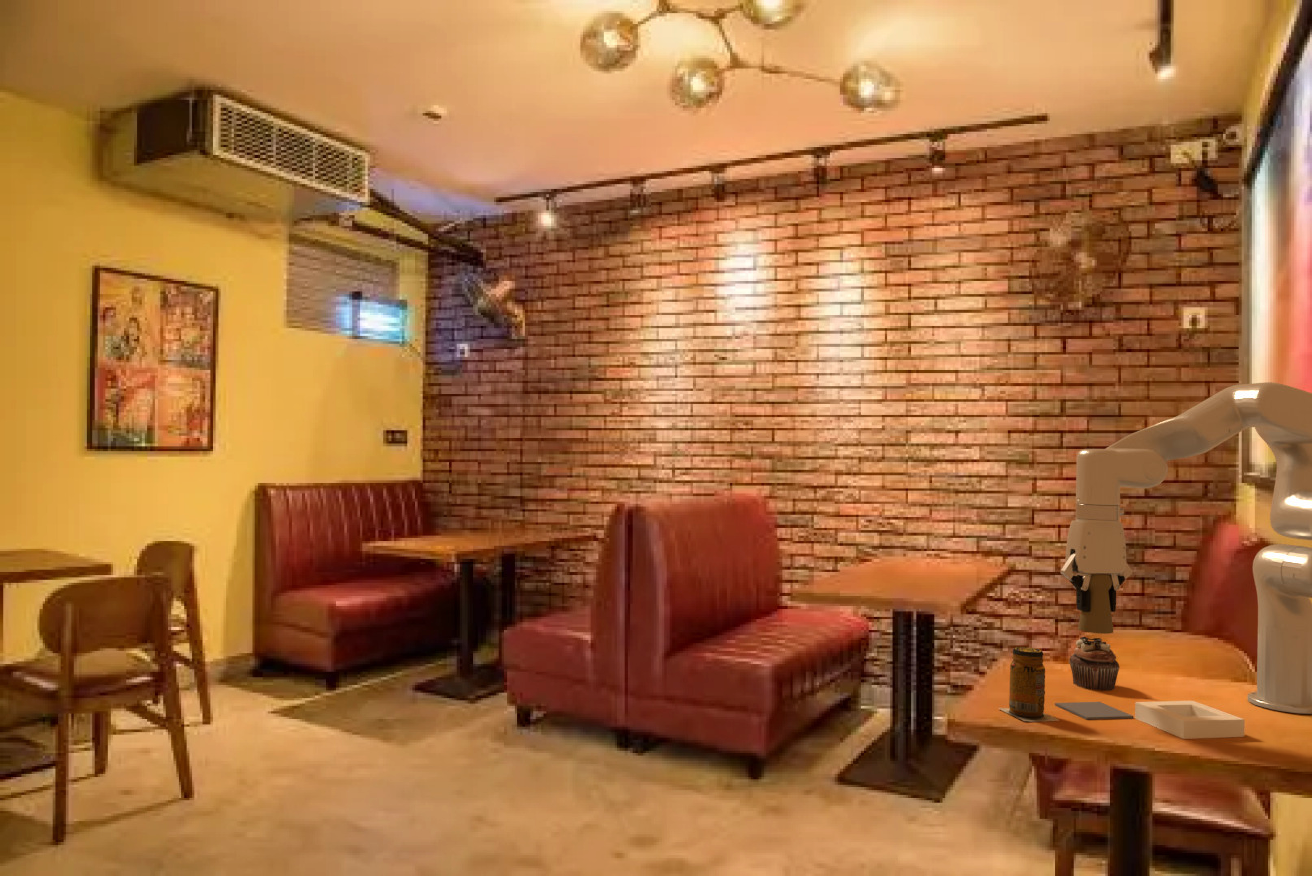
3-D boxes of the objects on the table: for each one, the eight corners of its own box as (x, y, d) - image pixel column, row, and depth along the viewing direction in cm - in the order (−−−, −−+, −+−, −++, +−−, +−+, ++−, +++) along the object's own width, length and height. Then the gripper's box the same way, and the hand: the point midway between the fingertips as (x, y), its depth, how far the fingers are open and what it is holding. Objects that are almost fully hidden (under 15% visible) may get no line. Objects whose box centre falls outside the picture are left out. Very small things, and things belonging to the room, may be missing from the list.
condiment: (1032, 708, 175) (1034, 645, 175) (1060, 721, 167) (1061, 655, 167) (997, 709, 174) (999, 645, 174) (1023, 722, 165) (1025, 655, 165)
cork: (1117, 634, 170) (1118, 574, 170) (1082, 632, 171) (1083, 573, 171) (1108, 628, 176) (1109, 570, 176) (1074, 626, 177) (1075, 569, 177)
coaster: (1099, 703, 179) (1099, 701, 179) (1133, 718, 170) (1133, 715, 170) (1054, 704, 177) (1054, 702, 177) (1086, 719, 168) (1086, 717, 168)
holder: (1192, 716, 172) (1192, 700, 172) (1244, 736, 160) (1244, 719, 160) (1135, 718, 169) (1135, 702, 170) (1183, 738, 158) (1183, 721, 158)
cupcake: (1128, 692, 189) (1129, 643, 189) (1080, 690, 189) (1081, 642, 189) (1106, 680, 198) (1107, 634, 198) (1061, 679, 198) (1061, 632, 199)
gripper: (1123, 513, 179) (1122, 606, 179) (1045, 512, 176) (1043, 607, 176) (1151, 516, 172) (1149, 613, 172) (1069, 515, 169) (1067, 614, 169)
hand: (1095, 609), depth 174 cm, fingers closed on cork, 4 cm apart
